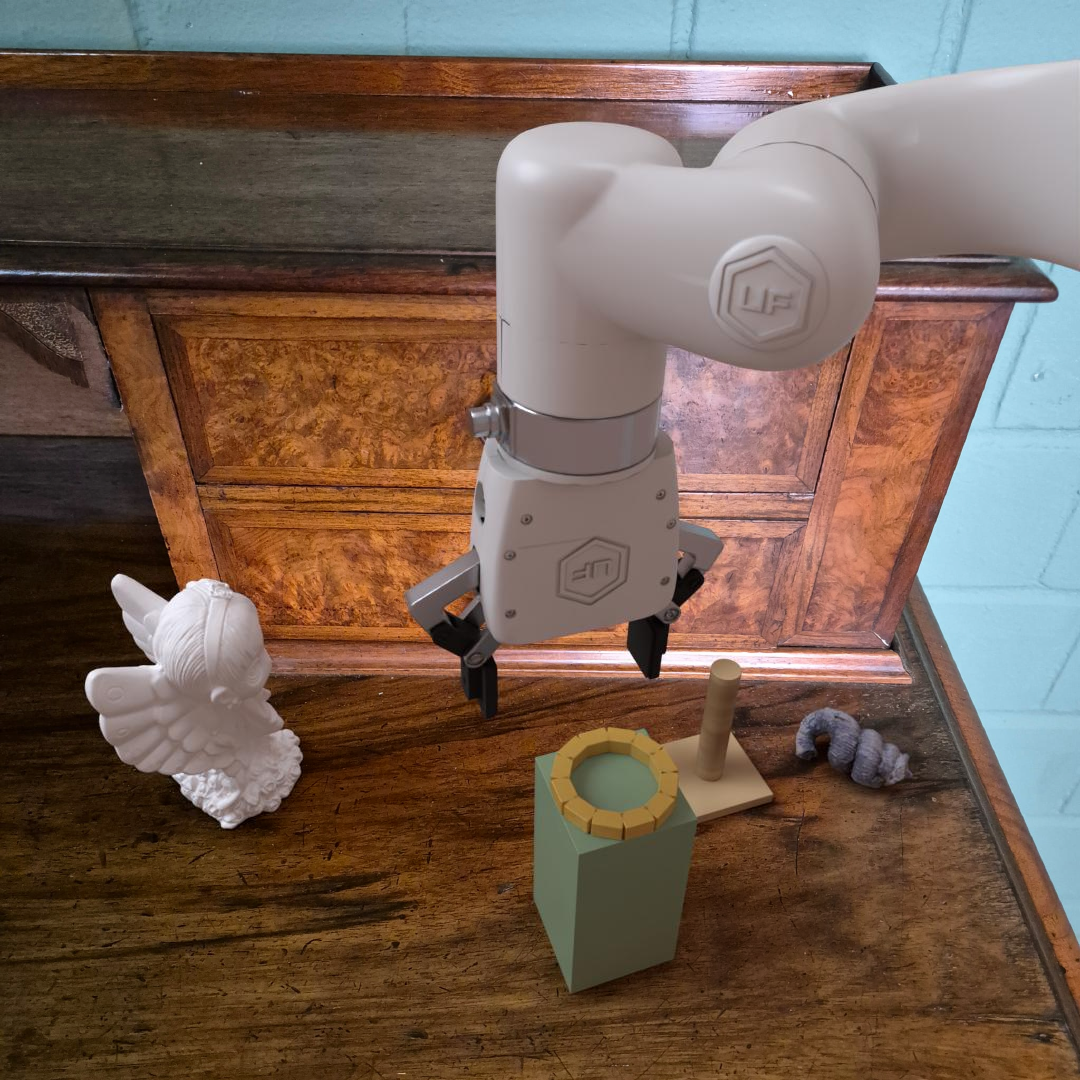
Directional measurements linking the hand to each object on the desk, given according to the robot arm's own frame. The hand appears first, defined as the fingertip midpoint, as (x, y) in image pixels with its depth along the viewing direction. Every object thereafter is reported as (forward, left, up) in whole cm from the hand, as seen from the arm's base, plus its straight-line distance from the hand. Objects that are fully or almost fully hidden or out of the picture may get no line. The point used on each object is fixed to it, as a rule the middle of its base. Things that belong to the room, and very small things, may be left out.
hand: (564, 681), depth 54 cm
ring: (0, -4, -11) cm, 11 cm away
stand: (0, -4, -27) cm, 27 cm away
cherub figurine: (+23, +21, -27) cm, 41 cm away
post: (+10, -18, -27) cm, 33 cm away
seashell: (+7, -30, -27) cm, 41 cm away
